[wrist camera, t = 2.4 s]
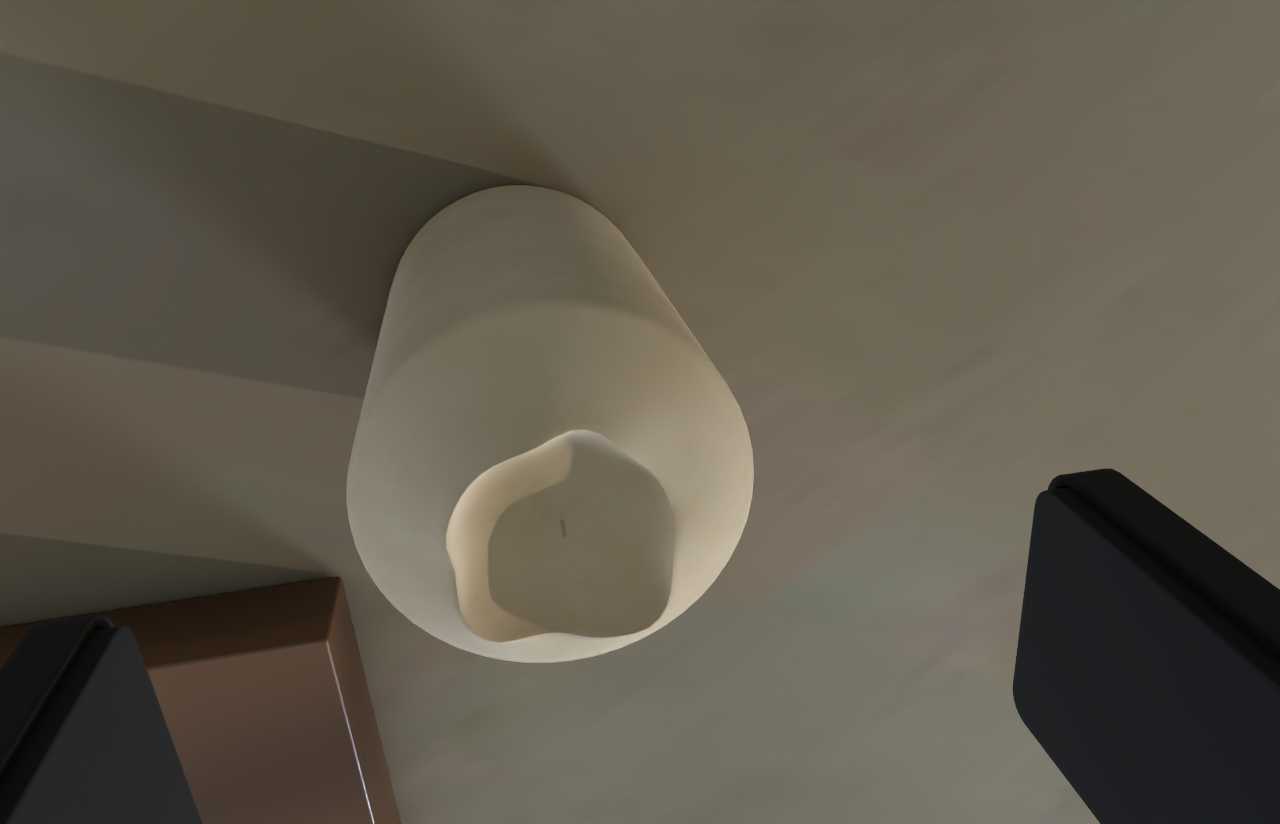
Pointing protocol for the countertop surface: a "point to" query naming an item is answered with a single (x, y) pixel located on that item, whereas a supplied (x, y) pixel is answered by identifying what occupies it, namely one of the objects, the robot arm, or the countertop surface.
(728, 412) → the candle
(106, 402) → the countertop surface
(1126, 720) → the robot arm
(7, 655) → the serving board
